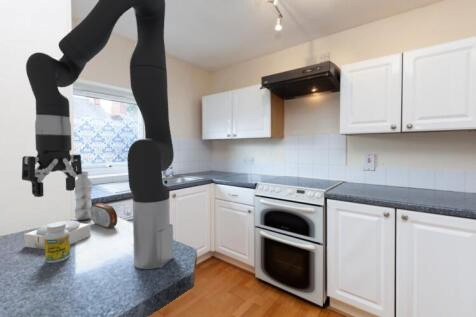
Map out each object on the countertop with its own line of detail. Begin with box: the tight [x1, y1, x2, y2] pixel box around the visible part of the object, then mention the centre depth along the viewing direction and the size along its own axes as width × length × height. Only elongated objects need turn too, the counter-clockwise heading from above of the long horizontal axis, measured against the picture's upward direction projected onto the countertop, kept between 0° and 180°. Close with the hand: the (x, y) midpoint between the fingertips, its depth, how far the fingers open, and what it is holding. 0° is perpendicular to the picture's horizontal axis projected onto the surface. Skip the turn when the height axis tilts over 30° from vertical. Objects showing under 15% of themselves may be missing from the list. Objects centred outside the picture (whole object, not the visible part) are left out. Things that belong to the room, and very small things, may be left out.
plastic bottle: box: [74, 171, 93, 221], centre depth 96 cm, size 6×7×20 cm
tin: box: [90, 202, 118, 229], centre depth 89 cm, size 15×3×8 cm, turn 58°
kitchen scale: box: [24, 220, 91, 250], centre depth 75 cm, size 12×12×5 cm
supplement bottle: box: [44, 221, 71, 264], centre depth 63 cm, size 5×5×10 cm
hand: (55, 193), depth 62 cm, fingers open, 8 cm apart
